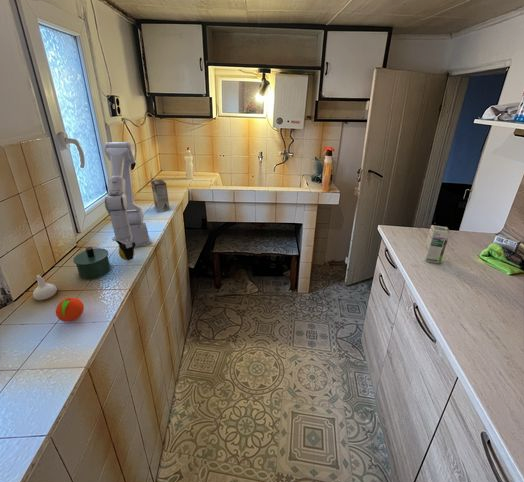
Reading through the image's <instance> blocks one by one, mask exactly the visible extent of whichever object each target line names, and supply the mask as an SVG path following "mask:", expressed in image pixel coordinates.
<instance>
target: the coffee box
mask: <svg viewBox="0 0 524 482" xmlns="http://www.w3.org/2000/svg"><path fill="white" fill-rule="evenodd" d="M150 185H151V191H152V196H153V203H154V207H155V209H156V210H157V211H158V212H159V213H161V212H166V211H170V209H171V208H170V202H169V193H168V187H167V183H166V181H164V179H162V178H161V179H155V180H151V181H150Z"/></svg>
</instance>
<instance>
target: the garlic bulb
mask: <svg viewBox="0 0 524 482" xmlns="http://www.w3.org/2000/svg"><path fill="white" fill-rule="evenodd" d="M35 277H36V282H37V287H36V288H34V290H33V292H32V297H33V298H34V299H35V301H45V300H48V299H50V298H52V297H54V295H56V294H57V292H58V289H57V286H56V285H55V284H53V283H47V282H46V281H45V280H44V278H43V277H42V275H41V274H37V275H35Z"/></svg>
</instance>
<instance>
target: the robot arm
mask: <svg viewBox="0 0 524 482" xmlns="http://www.w3.org/2000/svg"><path fill="white" fill-rule="evenodd" d="M103 148H104V154H105V156H106V157H107V159H108V161H110V169H111V171H110V172H111V176H110V177H109V178H108V183H107V196H105V198H104V208H105V210H106V211H107V214H108V217H110V221H111V225H112V229H113V233H114V236H113V237H111V240H112V242H114V241H115V242H116V243H117V244H118V249H119V248H120V249H121V250H122V251H123V252H124V255H125V257H126V259H127V260H126V261H128V260H129V261H131V260H134V256H133V253H134V254H135V248H139V247H142V246H147V245H150V244H151V242H150V236H149V231H148V227H147V224H146V222H144V220H145V219H144V218H145V217H144V212H143V208H142V207H141V206H140V205H139V204H138V203H135V197H134V187H133V178H132V165H133V164H134V163H136V161H135V160H136V156H135V149H134V143H132V142H131V141H116V142H115V141H114V142H113V141H112V142H109V141H106V142H105V143H104V147H103ZM122 244H123V245H122Z"/></svg>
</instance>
